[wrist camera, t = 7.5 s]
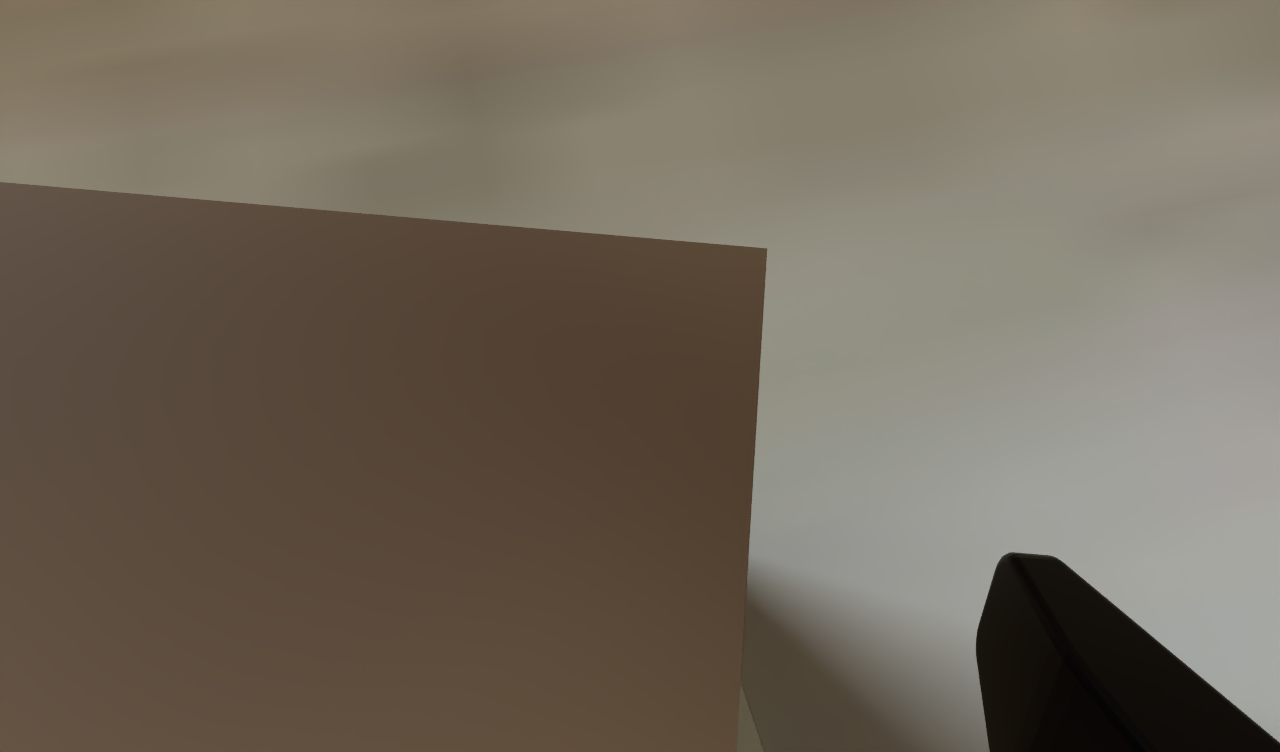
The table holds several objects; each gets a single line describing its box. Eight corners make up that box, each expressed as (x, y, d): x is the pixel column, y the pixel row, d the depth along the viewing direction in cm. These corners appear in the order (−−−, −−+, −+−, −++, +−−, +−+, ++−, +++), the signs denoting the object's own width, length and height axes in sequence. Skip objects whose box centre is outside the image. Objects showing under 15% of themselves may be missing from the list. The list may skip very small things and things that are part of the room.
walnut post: (649, 804, 16) (711, 1150, 5) (370, 778, 16) (-242, 1059, 5) (671, 524, 17) (767, 248, 6) (409, 501, 17) (-15, 182, 6)
